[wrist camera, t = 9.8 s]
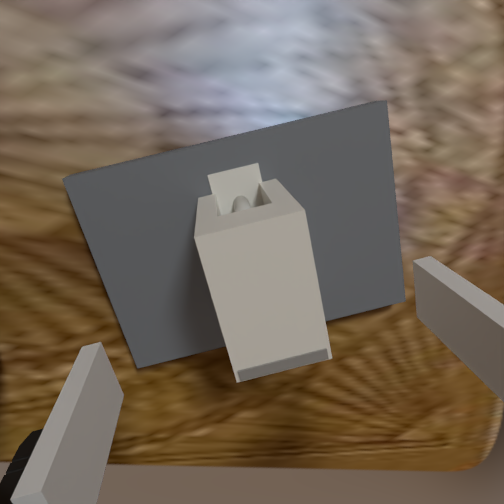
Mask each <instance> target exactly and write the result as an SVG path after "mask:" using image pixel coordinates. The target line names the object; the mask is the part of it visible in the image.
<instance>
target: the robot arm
mask: <svg viewBox="0 0 504 504" xmlns="http://www.w3.org/2000/svg"><path fill="white" fill-rule="evenodd" d="M413 270H414V283H415V296H416V309H417V317H418V318H419V319H420V320H421V321H422V322H423V323H424V324H425V325H426V326H427V327H428V328H429V329H430V330H431V331H432V332H433V333H434V334H435V335H436V336H437V337H438V338H439V339H440V340H441V341H442V342H443V343H444V344H445V345H446V346H447V347H448V348H449V349H450V350H451V351H452V352H453V353H454V354H455V355H456V356H457V357H458V358H459V359H460V360H461V361H462V362H463V363H464V364H465V365H466V366H467V367H468V368H470V369H471V370H472V371H473V372H474V373H475V374H476V375H477V376H478V377H479V378H480V379H481V380H482V381H483V382H484V383H485V384H486V385H487V386H488V387H489V388H490V389H491V390H492V391H493V392H494V393H495V394H496V395H497V396H498V397H499V398H500V399H501V400H502V401H503V402H504V305H503V304H502V303H500V302H499V301H497V300H496V299H494V298H493V297H491V296H490V295H488V294H487V293H485V292H484V291H482V290H481V289H479V288H478V287H476V286H475V285H473V284H472V283H470V282H469V281H467V280H466V279H464V278H463V277H461V276H460V275H458V274H457V273H455V272H454V271H452V270H451V269H449V268H448V267H446V266H445V265H443V264H441V263H440V262H438V261H437V260H435V259H434V258H432V257H431V256H429V257H425V258H421V259H417V260H414V261H413ZM123 397H124V394H123V392H122V390H121V387H120V385H119V383H118V380H117V378H116V376H115V373H114V371H113V369H112V366H111V364H110V362H109V360H108V357H107V355H106V353H105V350H104V348H103V346H102V343H101V342H99V343H95V344H91V345H87V346H84V347H82V348H81V350H80V352H79V355H78V357H77V359H76V361H75V363H74V365H73V367H72V369H71V372H70V374H69V376H68V378H67V380H66V382H65V384H64V386H63V389H62V391H61V393H60V395H59V397H58V399H57V401H56V403H55V406H54V408H53V410H52V412H51V414H50V416H49V418H48V420H47V423H46V425H45V427H44V429H40V430H37V431H33V432H31V434H30V435H29V436H28V437H27V438H26V439H25V440H24V441H23V443H22V444H21V445H20V446H19V448H18V450H17V452H16V454H15V456H14V457H13V459H12V463H10V465H9V467H8V469H7V471H6V475H4V477H3V479H2V481H1V483H0V504H97V500H98V496H99V491H100V488H101V484H102V480H103V476H104V472H105V468H106V464H107V460H108V456H109V452H110V448H111V444H112V440H113V436H114V432H115V428H116V424H117V420H118V417H119V413H120V409H121V405H122V401H123Z"/></svg>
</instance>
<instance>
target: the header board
mask: <svg viewBox="0 0 504 504" xmlns="http://www.w3.org/2000/svg"><path fill="white" fill-rule="evenodd" d="M272 179H277V180H278V181H279V182H280V183H281V184H282V185H283V187H284V188H285V189H286V190H287V191H288V192H289V193H290V194H291V195H292V196H293V197H294V199H295V200H296V201H297V202H298V203H299V204H300V205H301V206H302V207H303V208H304V209H305V213H306V218H307V223H308V229H309V234H310V240H311V245H312V251H313V256H314V262H315V267H316V272H317V278H318V283H319V289H320V294H321V300H322V305H323V311H324V316H325V321H329V320H333V319H337V318H341V317H345V316H349V315H352V314H356V313H360V312H364V311H368V310H372V309H376V308H380V307H384V306H388V305H392V304H396V303H400V302H404V301H406V300H405V289H404V279H403V268H402V257H401V247H400V236H399V225H398V215H397V204H396V193H395V183H394V172H393V161H392V151H391V140H390V129H389V119H388V108H387V101H374V102H370V103H366V104H361V105H357V106H353V107H349V108H345V109H341V110H337V111H332V112H328V113H324V114H320V115H316V116H312V117H308V118H304V119H299V120H295V121H291V122H287V123H283V124H279V125H275V126H270V127H266V128H262V129H258V130H254V131H250V132H246V133H241V134H237V135H233V136H229V137H225V138H221V139H217V140H212V141H208V142H204V143H200V144H196V145H192V146H188V147H184V148H179V149H175V150H171V151H167V152H163V153H159V154H155V155H150V156H146V157H142V158H138V159H134V160H130V161H126V162H121V163H117V164H113V165H109V166H105V167H101V168H97V169H92V170H88V171H84V172H80V173H76V174H72V175H69V176H67V177H65V178H63V179H62V180H63V182H64V185H65V187H66V190H67V192H68V195H69V197H70V200H71V203H72V205H73V208H74V210H75V213H76V215H77V218H78V220H79V223H80V225H81V228H82V230H83V233H84V235H85V238H86V240H87V243H88V245H89V248H90V250H91V253H92V255H93V258H94V260H95V263H96V265H97V268H98V270H99V273H100V275H101V278H102V281H103V283H104V286H105V288H106V291H107V293H108V296H109V298H110V301H111V303H112V306H113V308H114V311H115V313H116V316H117V318H118V321H119V323H120V326H121V328H122V331H123V333H124V336H125V338H126V341H127V343H128V346H129V348H130V351H131V353H132V356H133V358H134V361H135V364H136V366H137V369H138V368H142V367H146V366H150V365H154V364H158V363H162V362H165V361H169V360H173V359H177V358H181V357H185V356H189V355H193V354H197V353H201V352H205V351H209V350H213V349H217V348H221V347H225V346H226V344H225V341H224V337H223V334H222V330H221V327H220V324H219V320H218V317H217V313H216V310H215V307H214V303H213V300H212V297H211V293H210V290H209V286H208V283H207V280H206V276H205V273H204V270H203V266H202V263H201V259H200V256H199V253H198V249H197V246H196V242H195V239H194V233H195V224H196V214H197V205H198V198H199V197H203V196H207V195H211V194H216V198H217V201H218V205H219V209H220V213H221V216H222V215H226V214H230V213H234V212H238V211H242V210H246V209H250V208H254V207H258V206H262V205H264V203H263V198H262V194H261V189H260V185H259V183H260V182H264V181H268V180H272Z"/></svg>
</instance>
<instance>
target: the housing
mask: <svg viewBox="0 0 504 504" xmlns="http://www.w3.org/2000/svg"><path fill="white" fill-rule="evenodd" d="M259 185H260V189H261V194H262V198H263V203H264V205H262V206H258V207H254V208H250V209H246V210H242V211H238V212H234V213H230V214H226V215H222V216H221V213H220V209H219V205H218V201H217V198H216V194H211V195H207V196H203V197H199V198H198V205H197V214H196V224H195V233H194V239H195V242H196V246H197V249H198V253H199V256H200V259H201V263H202V266H203V270H204V273H205V276H206V280H207V283H208V286H209V290H210V293H211V297H212V300H213V303H214V307H215V310H216V313H217V317H218V320H219V324H220V327H221V330H222V334H223V337H224V341H225V344H226V347H227V351H228V354H229V357H230V361H231V364H232V368H233V371H234V374H235V378H236V381H237V383H238V382H242V381H246V380H250V379H253V378H257V377H261V376H265V375H269V374H273V373H277V372H281V371H285V370H289V369H293V368H297V367H300V366H304V365H308V364H312V363H316V362H320V361H324V360H328V359H332V354H331V349H330V343H329V338H328V332H327V327H326V322H325V316H324V311H323V305H322V300H321V294H320V289H319V283H318V278H317V272H316V267H315V262H314V256H313V251H312V245H311V240H310V234H309V229H308V223H307V218H306V213H305V209H304V208H303V207H302V206H301V205H300V204H299V203H298V202H297V201H296V200H295V199H294V197H293V196H292V195H291V194H290V193H289V192H288V191H287V190H286V189H285V188H284V187H283V185H282V184H281V183H280V182H279V181H278V180H277V179H272V180H268V181H264V182H260V183H259Z"/></svg>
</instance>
